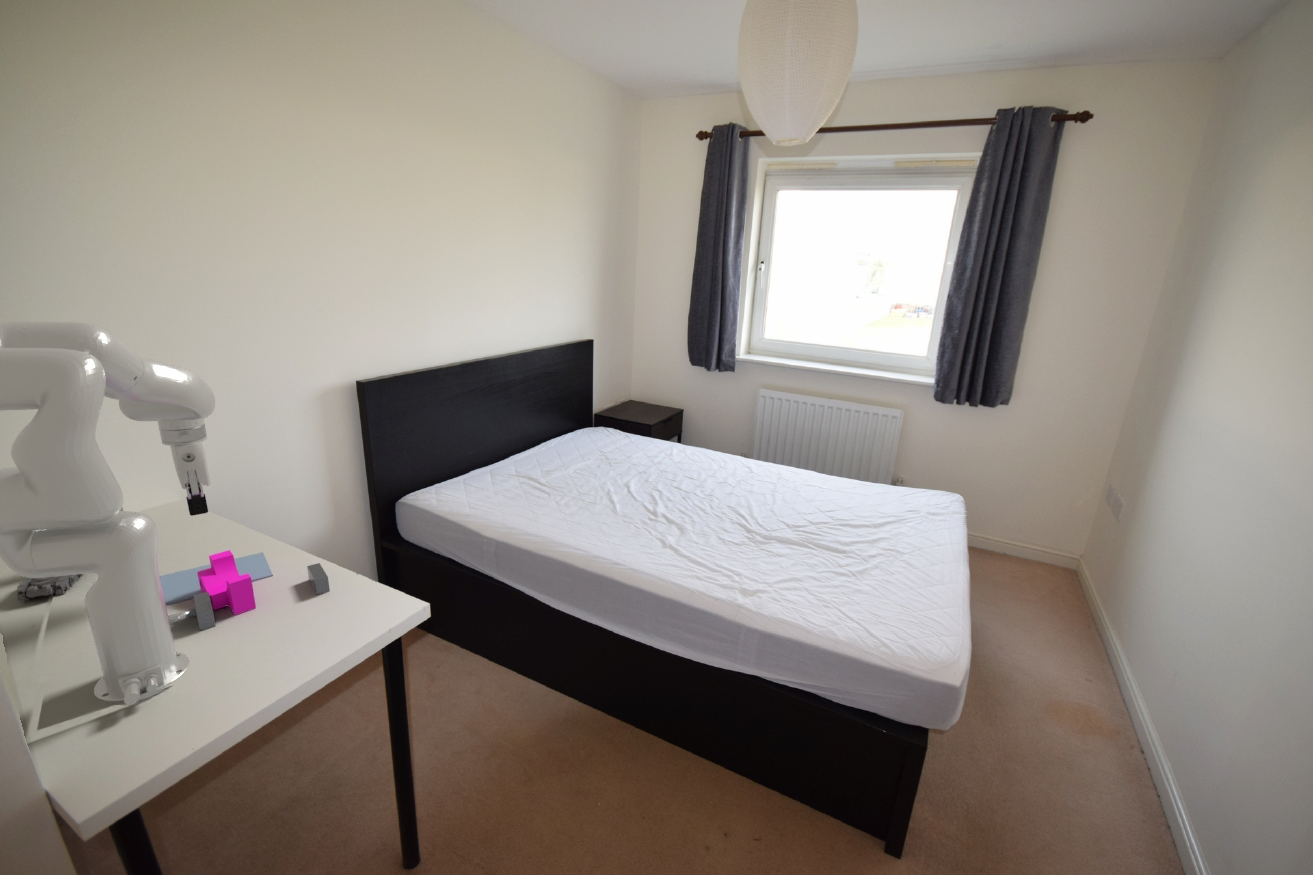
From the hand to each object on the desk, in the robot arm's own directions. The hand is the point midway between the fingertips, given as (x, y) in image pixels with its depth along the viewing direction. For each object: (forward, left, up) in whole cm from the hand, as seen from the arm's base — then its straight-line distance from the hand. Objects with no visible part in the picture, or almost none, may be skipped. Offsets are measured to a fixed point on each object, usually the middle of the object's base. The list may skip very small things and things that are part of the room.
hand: (199, 512), depth 126 cm
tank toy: (+16, +26, -17) cm, 35 cm away
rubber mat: (0, 0, -16) cm, 16 cm away
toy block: (-13, -2, -16) cm, 21 cm away
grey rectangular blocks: (-18, -8, -16) cm, 26 cm away
